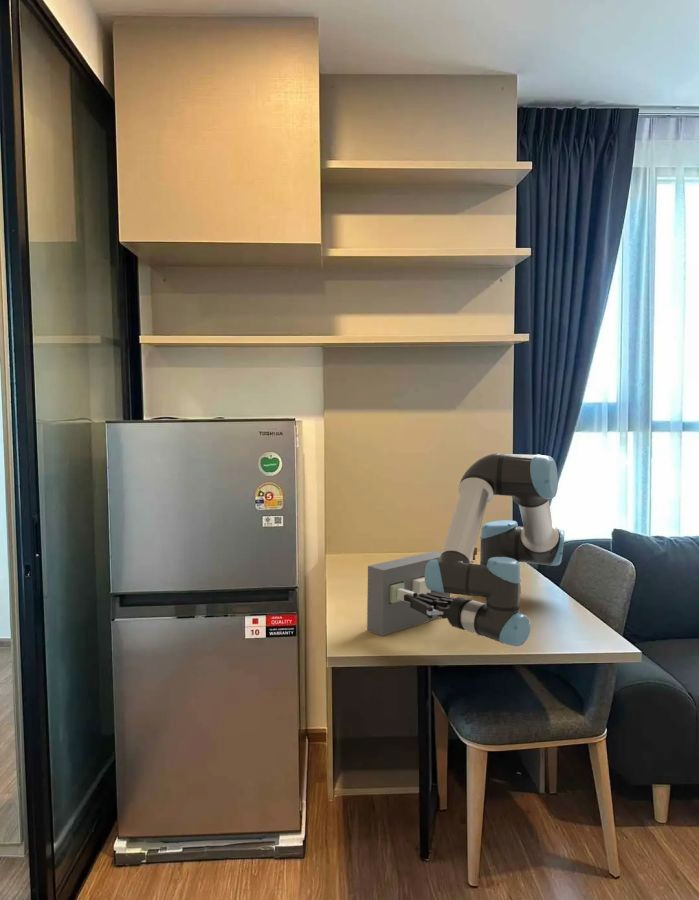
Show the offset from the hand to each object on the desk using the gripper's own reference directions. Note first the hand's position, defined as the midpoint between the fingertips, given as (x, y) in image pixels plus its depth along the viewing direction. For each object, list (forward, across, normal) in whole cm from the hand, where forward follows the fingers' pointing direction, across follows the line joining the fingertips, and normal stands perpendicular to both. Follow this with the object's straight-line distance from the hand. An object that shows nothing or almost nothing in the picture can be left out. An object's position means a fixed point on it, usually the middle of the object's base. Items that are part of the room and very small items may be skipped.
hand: (399, 593), depth 179 cm
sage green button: (+3, 0, -2) cm, 4 cm away
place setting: (+37, +70, -12) cm, 80 cm away
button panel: (+3, +9, -11) cm, 15 cm away
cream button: (+1, +9, -2) cm, 9 cm away
